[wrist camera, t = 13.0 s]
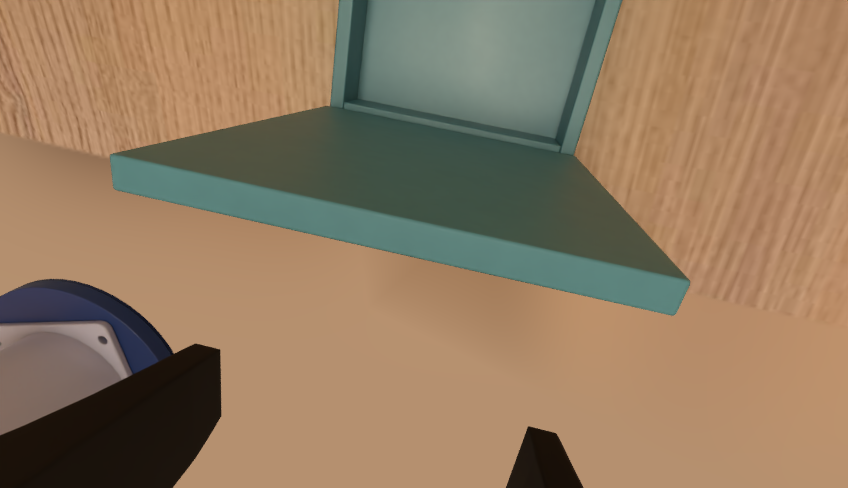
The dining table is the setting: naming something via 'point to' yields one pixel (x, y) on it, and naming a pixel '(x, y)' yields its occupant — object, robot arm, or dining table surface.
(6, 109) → the dining table surface
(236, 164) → the teal box lid
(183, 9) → the dining table surface
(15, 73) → the dining table surface
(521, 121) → the teal square tray
